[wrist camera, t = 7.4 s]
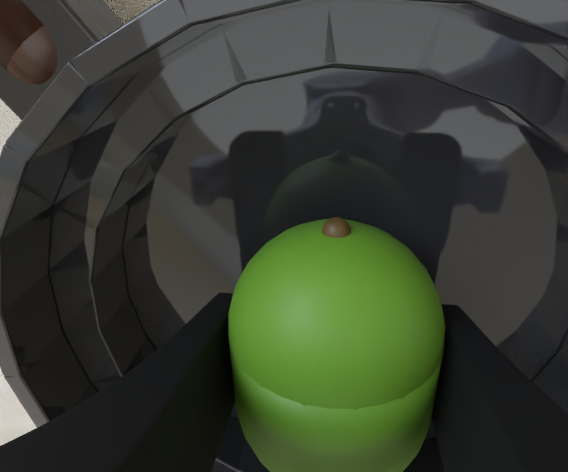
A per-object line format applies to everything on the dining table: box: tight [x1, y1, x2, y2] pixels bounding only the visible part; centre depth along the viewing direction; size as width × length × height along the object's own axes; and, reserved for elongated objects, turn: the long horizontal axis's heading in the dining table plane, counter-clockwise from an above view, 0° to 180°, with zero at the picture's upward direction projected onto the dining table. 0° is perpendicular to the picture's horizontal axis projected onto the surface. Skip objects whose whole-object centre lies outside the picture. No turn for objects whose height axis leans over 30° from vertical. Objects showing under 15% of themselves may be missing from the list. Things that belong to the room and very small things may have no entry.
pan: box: [0, 0, 568, 472], centre depth 11 cm, size 16×16×4 cm
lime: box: [228, 217, 445, 472], centre depth 10 cm, size 8×5×5 cm, turn 1°
